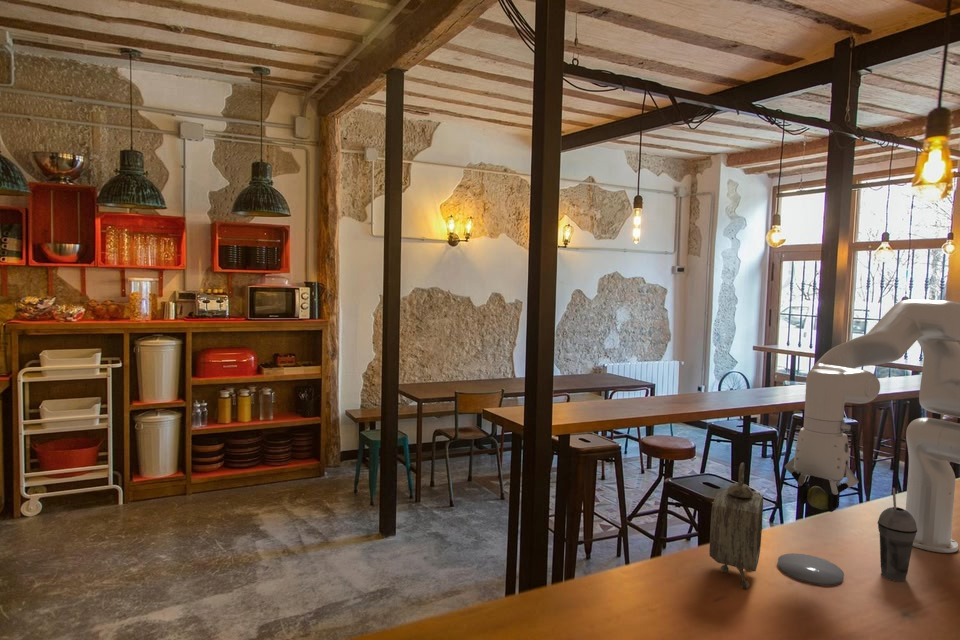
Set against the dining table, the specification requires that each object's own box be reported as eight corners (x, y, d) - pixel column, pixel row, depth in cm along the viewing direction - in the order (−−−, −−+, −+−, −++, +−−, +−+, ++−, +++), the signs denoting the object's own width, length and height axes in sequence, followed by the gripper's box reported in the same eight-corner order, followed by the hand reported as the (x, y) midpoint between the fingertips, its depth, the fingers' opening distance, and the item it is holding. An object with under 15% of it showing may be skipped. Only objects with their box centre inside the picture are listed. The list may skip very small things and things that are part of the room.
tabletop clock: (753, 595, 123) (759, 475, 122) (706, 583, 128) (712, 468, 126) (759, 567, 136) (765, 458, 134) (717, 557, 140) (722, 452, 139)
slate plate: (791, 552, 144) (791, 548, 144) (852, 573, 134) (852, 568, 134) (767, 568, 135) (768, 564, 135) (831, 591, 125) (831, 587, 125)
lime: (807, 503, 136) (809, 481, 136) (832, 508, 133) (833, 486, 133) (803, 508, 133) (805, 486, 132) (828, 514, 130) (830, 491, 129)
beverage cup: (920, 587, 129) (927, 495, 127) (882, 582, 130) (889, 492, 129) (903, 571, 136) (910, 484, 134) (868, 567, 137) (874, 481, 136)
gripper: (872, 430, 128) (867, 513, 129) (789, 416, 141) (784, 492, 142) (862, 436, 123) (856, 522, 124) (776, 420, 136) (771, 499, 137)
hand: (818, 505), depth 133 cm, fingers closed on lime, 4 cm apart
